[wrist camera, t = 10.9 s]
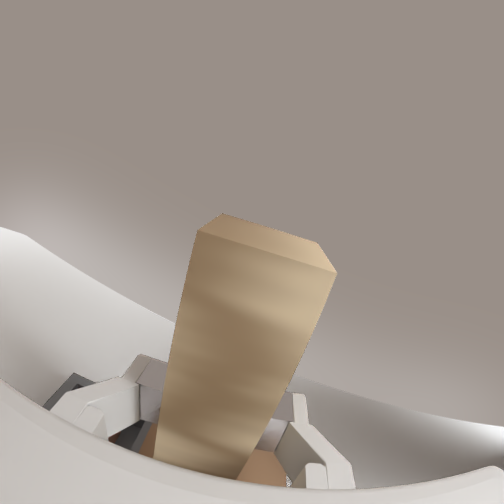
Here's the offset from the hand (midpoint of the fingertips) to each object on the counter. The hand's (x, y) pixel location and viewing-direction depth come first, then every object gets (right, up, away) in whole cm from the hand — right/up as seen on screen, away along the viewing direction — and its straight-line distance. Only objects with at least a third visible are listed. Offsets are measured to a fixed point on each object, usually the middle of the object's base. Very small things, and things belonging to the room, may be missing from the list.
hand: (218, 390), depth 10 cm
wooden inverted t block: (-2, -8, +1) cm, 8 cm away
